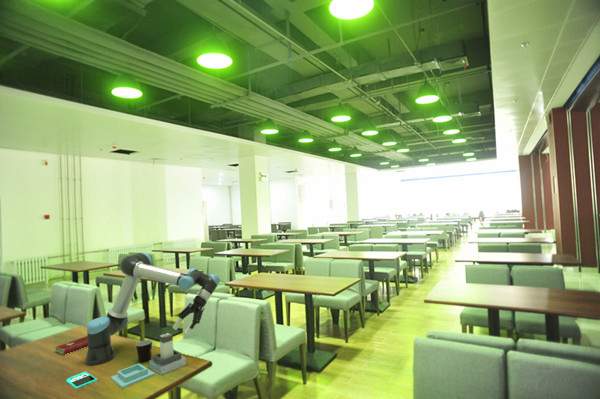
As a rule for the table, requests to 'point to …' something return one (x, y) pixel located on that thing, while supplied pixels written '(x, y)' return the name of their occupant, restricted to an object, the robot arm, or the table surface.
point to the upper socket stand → (167, 362)
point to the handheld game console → (81, 380)
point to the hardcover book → (72, 345)
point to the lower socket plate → (132, 375)
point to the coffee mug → (144, 350)
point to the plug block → (166, 345)
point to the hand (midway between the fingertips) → (180, 331)
